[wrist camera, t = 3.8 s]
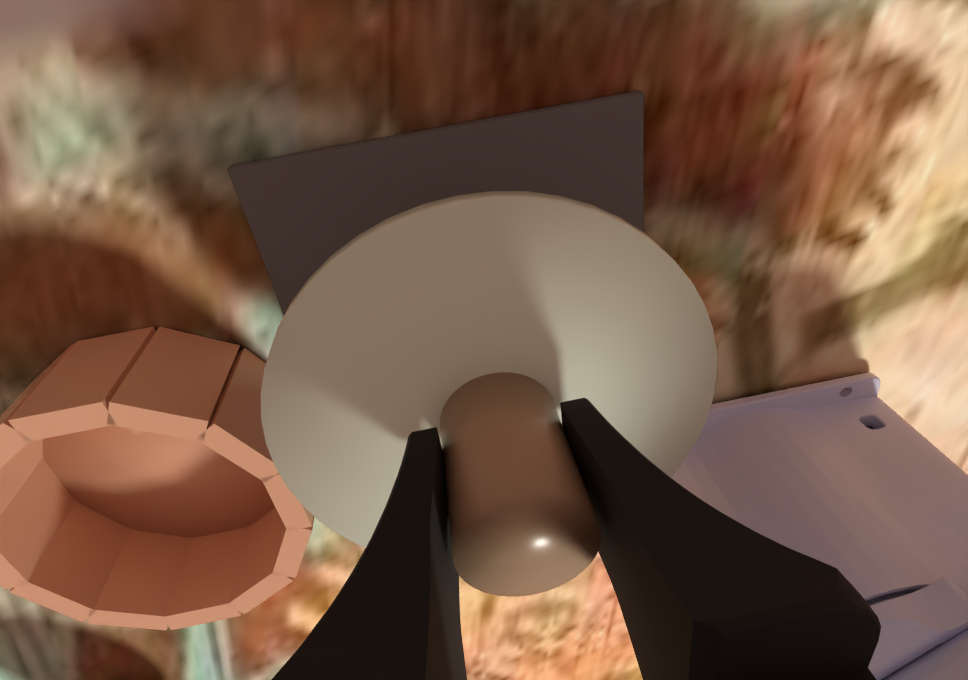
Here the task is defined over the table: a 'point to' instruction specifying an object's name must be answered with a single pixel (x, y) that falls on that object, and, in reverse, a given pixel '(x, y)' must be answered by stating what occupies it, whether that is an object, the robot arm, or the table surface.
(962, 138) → the table surface
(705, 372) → the lid
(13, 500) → the bowl
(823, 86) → the table surface
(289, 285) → the mat
